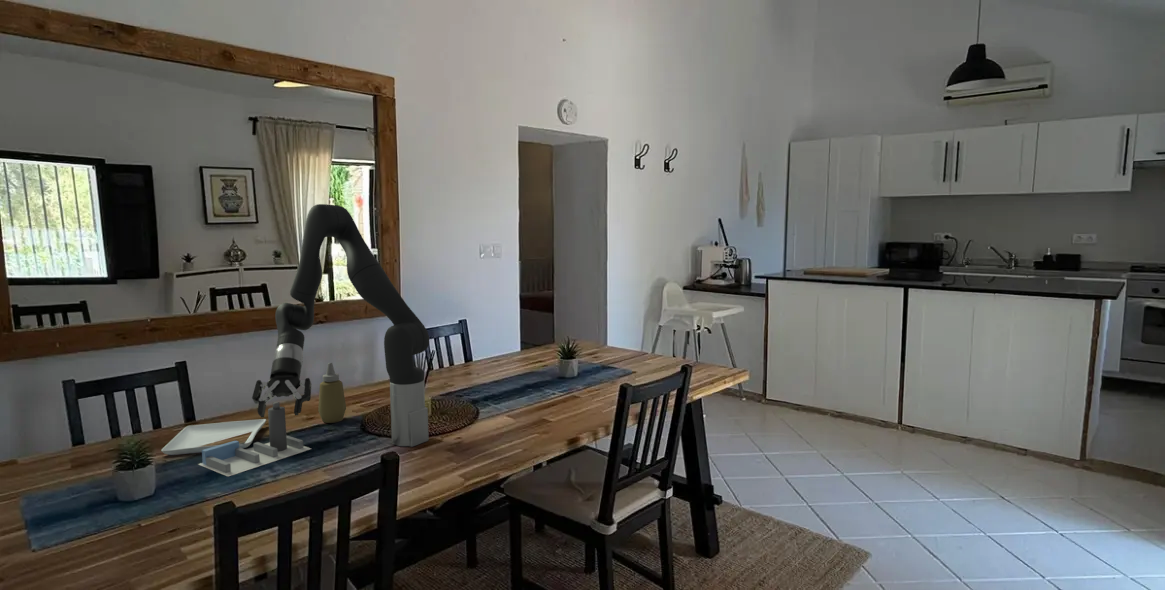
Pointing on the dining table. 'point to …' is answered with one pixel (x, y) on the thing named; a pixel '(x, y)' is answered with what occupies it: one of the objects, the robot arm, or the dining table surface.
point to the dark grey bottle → (277, 427)
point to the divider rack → (246, 456)
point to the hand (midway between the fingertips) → (278, 414)
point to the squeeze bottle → (331, 397)
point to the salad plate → (211, 435)
